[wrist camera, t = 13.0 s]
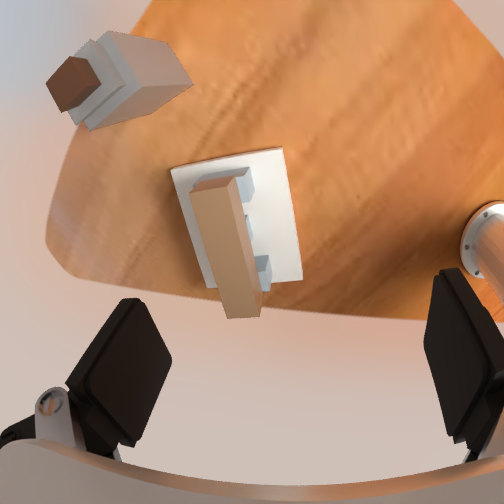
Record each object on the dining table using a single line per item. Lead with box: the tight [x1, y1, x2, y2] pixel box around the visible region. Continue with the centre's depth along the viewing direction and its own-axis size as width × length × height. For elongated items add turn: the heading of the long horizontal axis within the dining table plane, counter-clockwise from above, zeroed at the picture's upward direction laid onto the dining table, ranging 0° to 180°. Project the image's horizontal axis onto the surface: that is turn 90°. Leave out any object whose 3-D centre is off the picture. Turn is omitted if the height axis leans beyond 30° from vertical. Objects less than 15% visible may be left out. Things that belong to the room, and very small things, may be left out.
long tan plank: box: [188, 175, 263, 319], centre depth 35 cm, size 4×16×4 cm, turn 12°
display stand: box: [170, 147, 303, 292], centre depth 39 cm, size 14×18×6 cm
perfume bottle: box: [46, 31, 194, 131], centre depth 26 cm, size 7×7×18 cm
